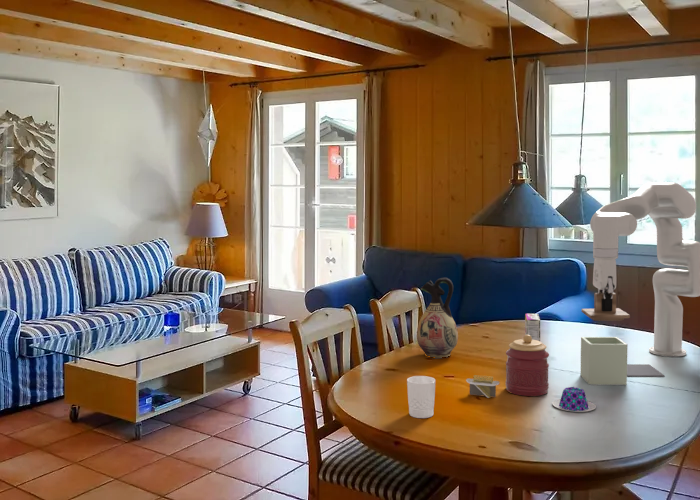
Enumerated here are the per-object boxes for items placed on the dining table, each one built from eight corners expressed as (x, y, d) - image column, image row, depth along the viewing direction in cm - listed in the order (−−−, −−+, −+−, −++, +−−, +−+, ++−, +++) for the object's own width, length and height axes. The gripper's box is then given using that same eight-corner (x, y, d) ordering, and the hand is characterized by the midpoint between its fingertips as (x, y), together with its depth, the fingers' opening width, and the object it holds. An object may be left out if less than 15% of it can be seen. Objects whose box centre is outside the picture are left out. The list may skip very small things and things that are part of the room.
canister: (524, 399, 206) (525, 341, 204) (496, 388, 217) (497, 333, 216) (557, 393, 212) (558, 336, 210) (528, 382, 223) (529, 328, 222)
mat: (608, 365, 242) (608, 364, 242) (649, 365, 241) (649, 364, 241) (621, 376, 228) (621, 375, 228) (664, 376, 227) (664, 375, 227)
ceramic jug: (411, 359, 255) (410, 278, 252) (423, 349, 269) (422, 273, 267) (456, 363, 249) (456, 280, 246) (466, 353, 263) (466, 275, 260)
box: (580, 375, 230) (581, 337, 229) (616, 375, 230) (616, 336, 228) (589, 384, 220) (589, 344, 219) (626, 384, 219) (627, 344, 218)
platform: (508, 407, 201) (508, 384, 200) (447, 400, 208) (447, 379, 207) (515, 395, 212) (515, 374, 211) (457, 389, 219) (457, 369, 218)
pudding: (568, 416, 192) (568, 397, 191) (543, 403, 203) (544, 385, 202) (604, 411, 195) (605, 393, 195) (578, 399, 207) (579, 381, 206)
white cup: (405, 410, 198) (404, 376, 197) (432, 409, 198) (432, 375, 197) (409, 419, 190) (409, 384, 189) (438, 418, 191) (438, 383, 190)
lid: (581, 314, 229) (581, 290, 228) (618, 314, 228) (618, 290, 227) (590, 321, 218) (590, 296, 217) (629, 321, 217) (630, 296, 216)
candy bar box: (524, 357, 256) (524, 313, 254) (538, 357, 255) (538, 313, 253) (525, 364, 245) (526, 319, 243) (540, 365, 244) (541, 319, 242)
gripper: (586, 250, 229) (586, 305, 231) (601, 256, 213) (600, 315, 215) (609, 250, 229) (609, 304, 231) (626, 256, 213) (625, 315, 215)
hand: (605, 309), depth 223 cm, fingers closed on lid, 3 cm apart
